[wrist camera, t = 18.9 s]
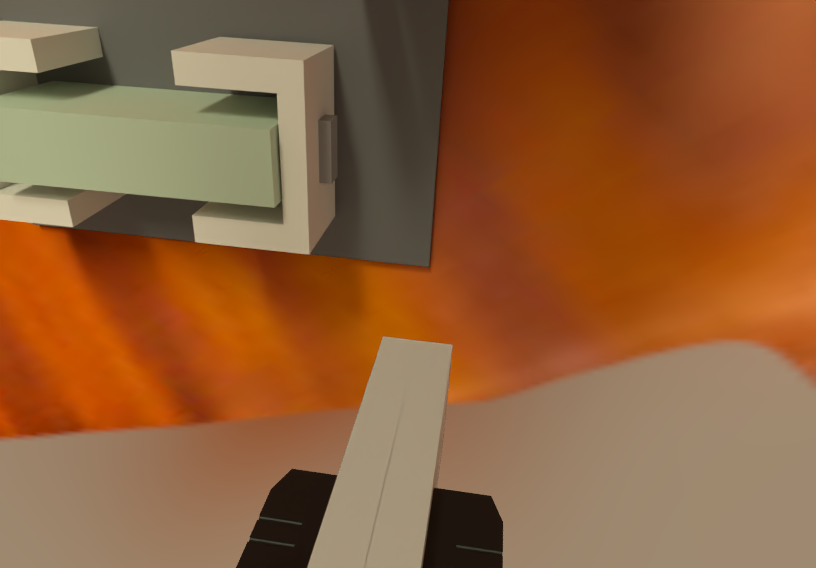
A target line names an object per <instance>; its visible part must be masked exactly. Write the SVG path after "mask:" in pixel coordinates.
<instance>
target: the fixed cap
mask: <svg viewBox="0 0 816 568" xmlns="http://www.w3.org/2000/svg"><path fill="white" fill-rule="evenodd" d="M100 57H103V54H102V48H101V43H100V37H99V31H98V27H86V26H72V25H58V24H44V23H30V22H16V21H0V95H3V94H6V93H10V92H13V91H17V90H21V89H24V88H28V87H32V86H35V85H38V80H37V76H36V73H40V72H44V71H48V70H52V69H56V68H60V67H64V66H68V65H72V64H76V63H80V62H84V61H88V60H92V59H96V58H100ZM124 195H126V193H115V192H105V191H95V190H84V189H74V188H63V187H53V186H43V185H32V184H22V183H11V182H1V181H0V219H1V220H11V221H20V222H29V223H38V224H48V225H57V226H66V227H74V226H76V225H78V224H79V223H81V222H82V221H84V220H86V219H87V218H89V217H90V216H92V215H94V214H95V213H97V212H98V211H100V210H102V209H103V208H105V207H106V206H108V205H110V204H111V203H113V202H114V201H116V200H118V199H119V198H121V197H122V196H124Z"/></svg>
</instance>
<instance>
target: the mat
mask: <svg viewBox="0 0 816 568" xmlns="http://www.w3.org/2000/svg"><path fill="white" fill-rule="evenodd" d="M448 5H449V0H0V21H16V22H30V23H44V24H58V25H72V26H86V27H98V31H99V37H100V43H101V48H102V54H103V57H100V58H96V59H92V60H88V61H84V62H80V63H76V64H72V65H68V66H64V67H60V68H56V69H52V70H48V71H44V72H40V73H36V76H37V80H38V85H39V84H42V83H46V82H50V81H64V82H77V83H90V84H103V85H116V86H129V87H142V88H155V89H168V90H181V91H194V92H207V93H220V94H233V95H246V96H259V97H273V98H277V93H266V92H253V91H241V90H229V89H216V88H204V87H192V86H179V85H175V79H174V71H173V64H172V56H171V50H175V49H178V48H182V47H185V46H189V45H192V44H196V43H199V42H203V41H206V40H210V39H214V38H217V37H231V38H244V39H258V40H272V41H286V42H300V43H314V44H328V45H334V115H337V163H338V176H337V178H336V179H335V217H334V218H333V220H332V221H331V223H330V224H329V226H328V227H327V229H326V230H325V232H324V233H323V235H322V236H321V238H320V239H319V241H318V242H317V244H316V245H315V247H314V248H313V250H312V251H311V253H310V254H313V255H323V256H332V257H341V258H350V259H360V260H369V261H378V262H387V263H397V264H406V265H415V266H424V267H429V264H430V252H431V238H432V224H433V211H434V197H435V183H436V169H437V156H438V142H439V128H440V114H441V101H442V87H443V73H444V60H445V46H446V32H447V18H448ZM208 202H209V201H199V200H188V199H178V198H167V197H157V196H147V195H136V194H126V195H124V196H122V197H121V198H119V199H118V200H116V201H114V202H113V203H111V204H110V205H108V206H106V207H105V208H103V209H102V210H100V211H98V212H97V213H95V214H94V215H92V216H90V217H89V218H87V219H86V220H84V221H82V222H81V223H79V224H78V225H76V226H74V227H66V226H57V225H48V224H38V223H33V224H36V225H45V226H55V227H64V228H73V229H82V230H92V231H101V232H110V233H119V234H129V235H138V236H147V237H156V238H165V239H175V240H184V241H193V242H195V236H194V228H193V220H192V215H193V214H194V213H195V212H197V211H198V210H199V209H200V208H202V207H203V206H204V205H205V204H206V203H208Z"/></svg>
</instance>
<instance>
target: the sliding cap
mask: <svg viewBox="0 0 816 568" xmlns="http://www.w3.org/2000/svg"><path fill="white" fill-rule="evenodd" d="M171 56H172V64H173V71H174V79H175V85H179V86H192V87H204V88H216V89H229V90H241V91H253V92H266V93H277V108H278V127H279V146H280V166H281V185H282V200H281V202H280V203H279V204H278V205H277V206H276V207H275V208H272V207H261V206H251V205H240V204H230V203H220V202H208V203H206V204H205V205H204V206H203V207H202V208H200V209H199V210H198V211H197V212H195V213H194V214H193V215H192V220H193V228H194V236H195V242H197V243H207V244H216V245H225V246H234V247H243V248H253V249H262V250H271V251H280V252H290V253H299V254H308V255H309V254H310V253H311V251H312V250H313V248H314V247H315V245H316V244H317V242H318V241H319V239H320V238H321V236H322V235H323V233H324V232H325V230H326V229H327V227H328V226H329V224H330V223H331V221H332V220H333V218H334V217H335V179H336V178H337V176H338V163H337V115H334V45H328V44H314V43H300V42H286V41H272V40H258V39H244V38H231V37H217V38H214V39H210V40H206V41H203V42H199V43H196V44H192V45H189V46H185V47H182V48H178V49H175V50H171Z"/></svg>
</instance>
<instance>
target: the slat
mask: <svg viewBox="0 0 816 568" xmlns="http://www.w3.org/2000/svg"><path fill="white" fill-rule="evenodd" d="M0 181H1V182H11V183H22V184H32V185H43V186H53V187H63V188H74V189H84V190H95V191H105V192H115V193H126V194H136V195H147V196H157V197H167V198H178V199H188V200H199V201H209V202H220V203H230V204H240V205H251V206H261V207H272V208H275V207H276V206H277V205H278V204H279V203H280V202H281V200H282V185H281V166H280V146H279V127H278V108H277V98H273V97H259V96H246V95H233V94H220V93H207V92H194V91H181V90H168V89H155V88H142V87H129V86H116V85H103V84H90V83H77V82H64V81H50V82H46V83H42V84H39V85H35V86H32V87H28V88H24V89H21V90H17V91H13V92H10V93H6V94H3V95H0Z"/></svg>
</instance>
